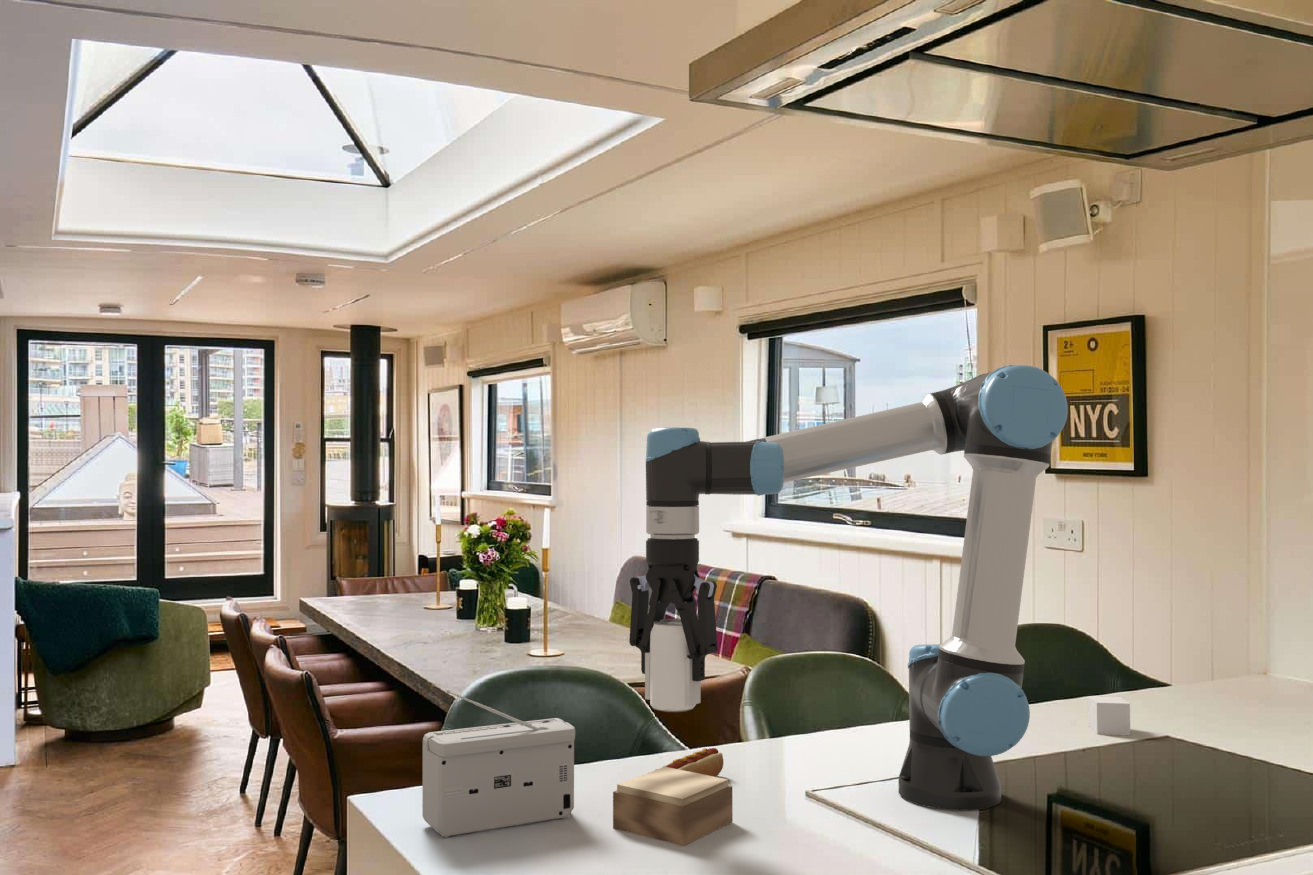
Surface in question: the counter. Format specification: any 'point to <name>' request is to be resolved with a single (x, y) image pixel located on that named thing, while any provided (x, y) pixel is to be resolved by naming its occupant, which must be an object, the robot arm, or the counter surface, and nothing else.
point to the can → (668, 666)
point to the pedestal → (672, 805)
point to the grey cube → (1109, 715)
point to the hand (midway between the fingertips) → (672, 700)
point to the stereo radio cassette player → (498, 774)
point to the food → (700, 762)
